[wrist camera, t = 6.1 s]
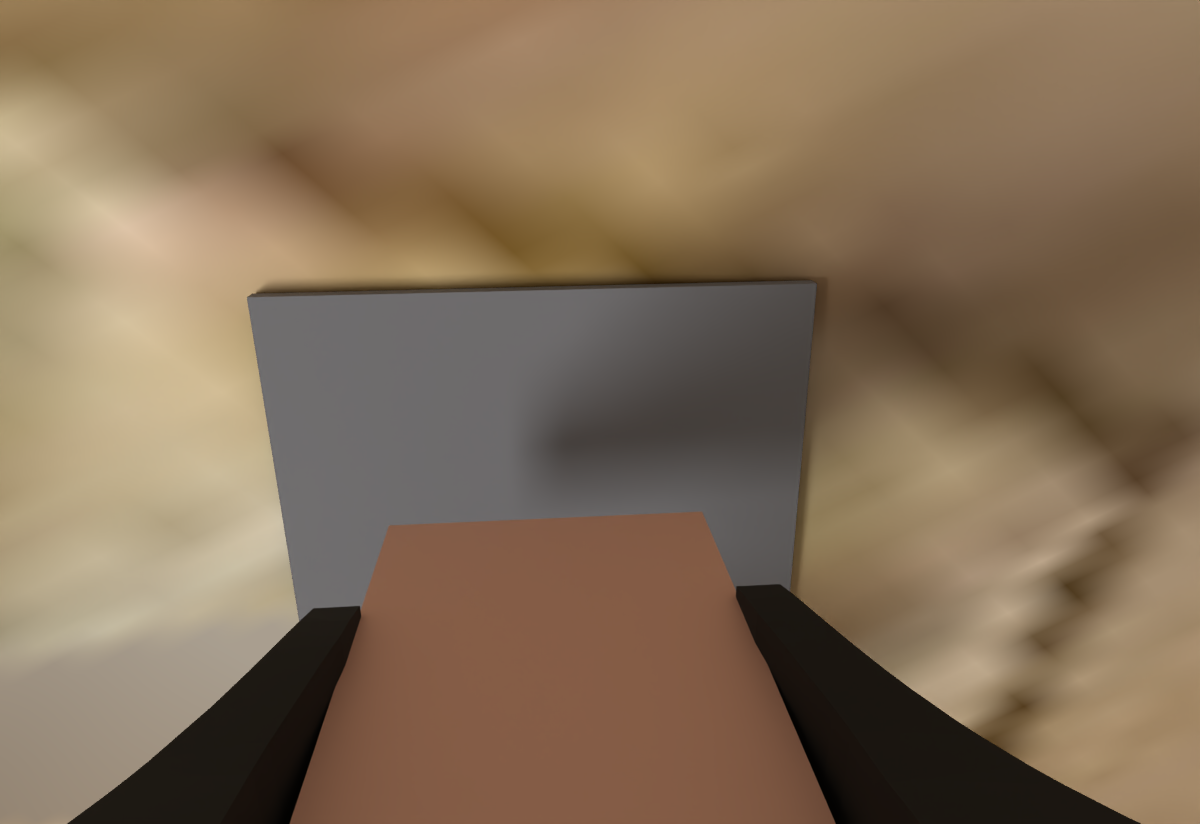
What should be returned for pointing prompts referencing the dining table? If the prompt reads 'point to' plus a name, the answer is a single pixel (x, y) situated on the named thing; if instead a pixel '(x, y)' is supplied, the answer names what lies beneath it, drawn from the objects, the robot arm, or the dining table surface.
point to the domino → (556, 685)
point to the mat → (533, 415)
